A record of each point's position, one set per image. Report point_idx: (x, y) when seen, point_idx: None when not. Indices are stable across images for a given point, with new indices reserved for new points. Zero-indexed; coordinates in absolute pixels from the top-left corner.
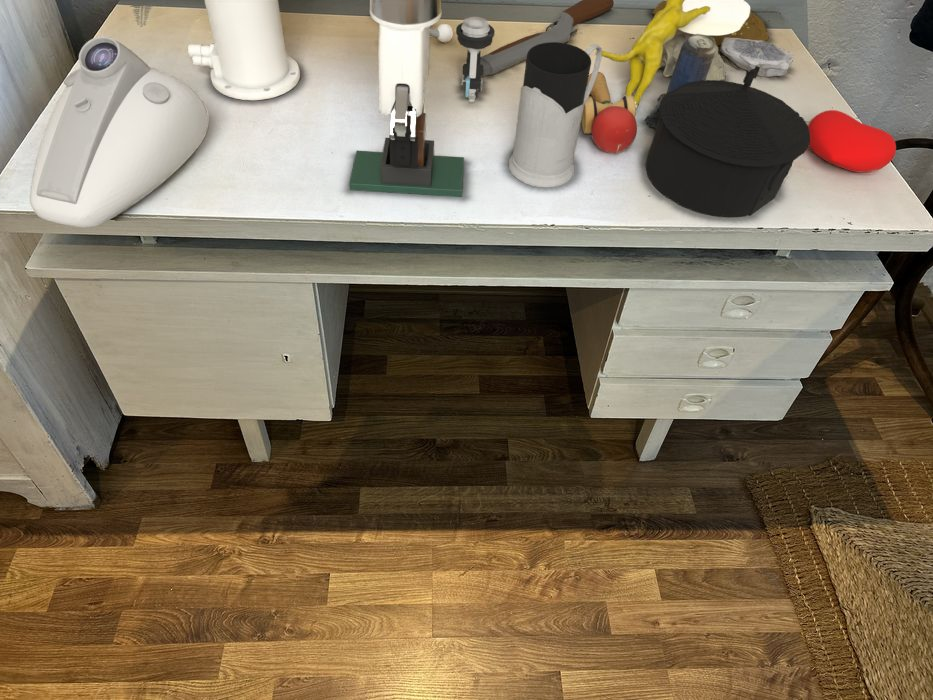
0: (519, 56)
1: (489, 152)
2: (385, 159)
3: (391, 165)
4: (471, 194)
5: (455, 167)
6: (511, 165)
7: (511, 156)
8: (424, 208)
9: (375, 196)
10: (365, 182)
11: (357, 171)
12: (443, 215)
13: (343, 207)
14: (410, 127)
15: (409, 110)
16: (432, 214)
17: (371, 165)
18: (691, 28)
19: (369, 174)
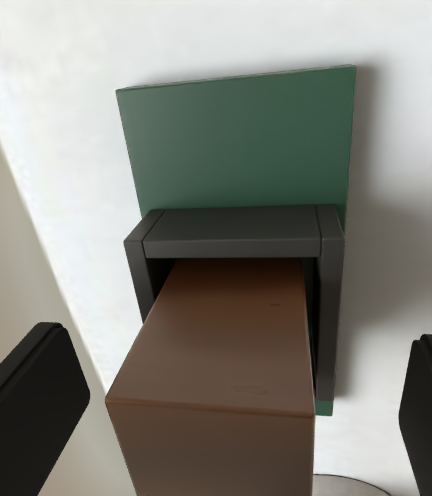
0: None
1: (387, 449)
2: (174, 255)
3: (42, 322)
4: None
5: None
6: (315, 487)
7: (353, 493)
8: (118, 315)
9: (124, 184)
10: (141, 153)
11: (199, 106)
12: (108, 353)
13: (34, 86)
14: (155, 477)
15: (426, 425)
16: (102, 332)
17: (248, 157)
18: None
19: (189, 160)
